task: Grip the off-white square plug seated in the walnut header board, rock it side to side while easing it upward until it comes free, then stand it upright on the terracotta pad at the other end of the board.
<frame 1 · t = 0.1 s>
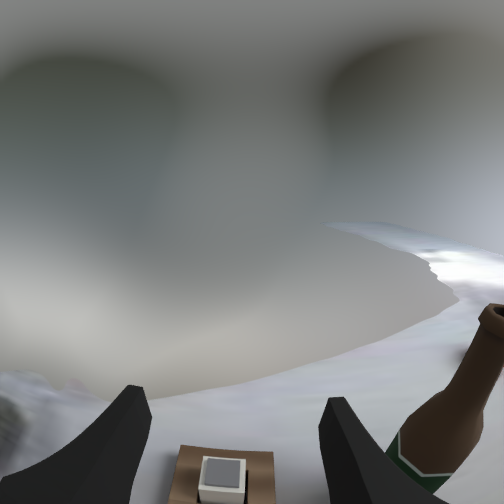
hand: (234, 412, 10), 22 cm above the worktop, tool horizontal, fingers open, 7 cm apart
plug: (223, 495, 22), resting in header
beer bottle: (389, 497, 21), on the worktop
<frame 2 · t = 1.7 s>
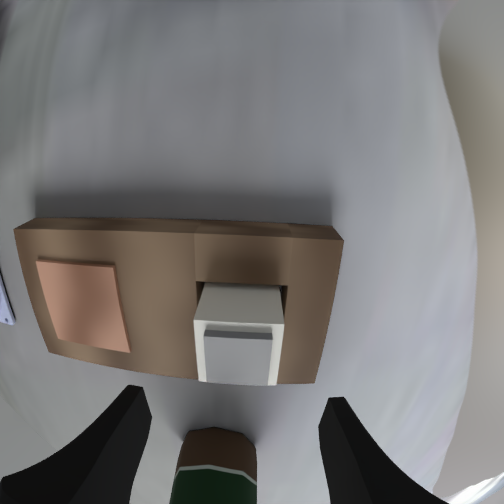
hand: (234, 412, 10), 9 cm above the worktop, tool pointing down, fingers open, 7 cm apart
plug: (242, 298, 19), resting in header
header: (165, 294, 18), on the worktop
beer bottle: (218, 443, 25), on the worktop
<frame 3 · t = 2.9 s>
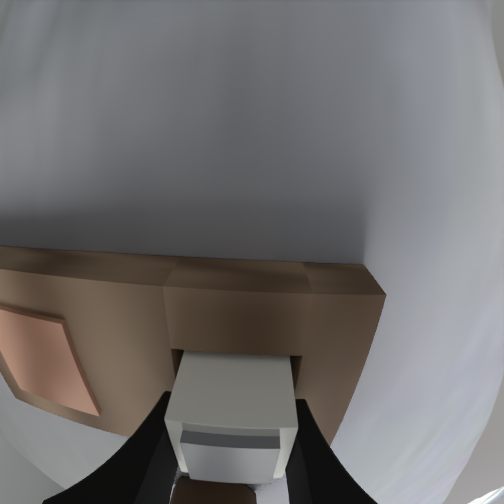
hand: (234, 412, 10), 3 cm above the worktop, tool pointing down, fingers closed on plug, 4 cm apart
plug: (238, 356, 13), resting in header, touching gripper
header: (138, 347, 13), on the worktop
beer bottle: (214, 487, 20), on the worktop
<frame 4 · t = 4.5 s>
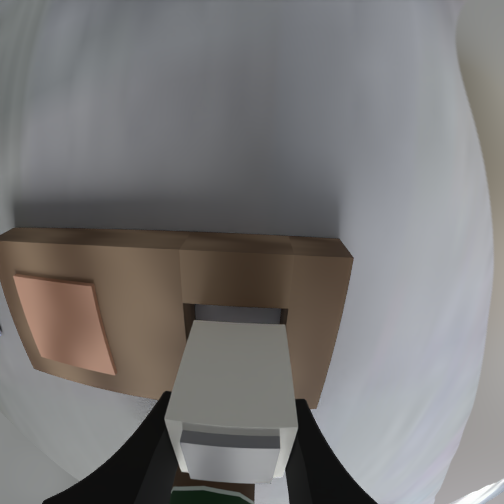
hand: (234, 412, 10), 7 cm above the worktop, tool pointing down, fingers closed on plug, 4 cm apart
plug: (238, 356, 13), point 3 cm above the worktop, touching gripper
header: (152, 312, 16), on the worktop
beer bottle: (214, 460, 23), on the worktop
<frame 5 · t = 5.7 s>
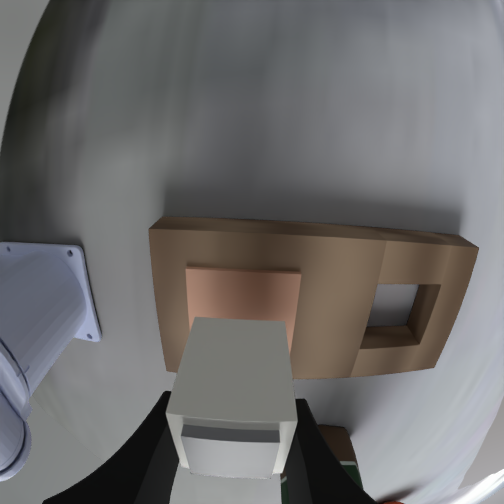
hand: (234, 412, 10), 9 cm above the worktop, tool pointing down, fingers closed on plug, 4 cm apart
plug: (238, 353, 14), point 6 cm above the worktop, touching gripper
tomato: (382, 502, 37), on the worktop
header: (320, 298, 19), on the worktop
beer bottle: (315, 441, 26), on the worktop
when the fingers open (7 cm above the worktop, at t = 6.5 s): plug stays where it is, resting on header.
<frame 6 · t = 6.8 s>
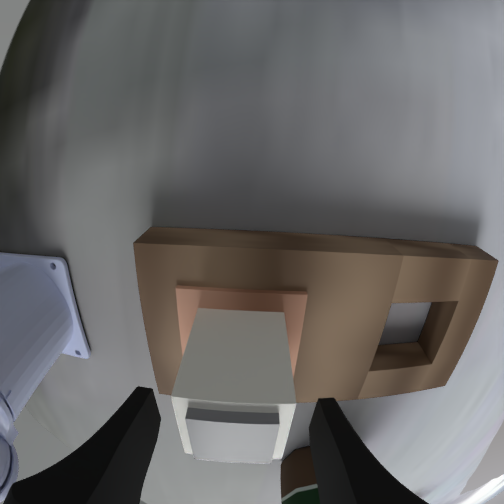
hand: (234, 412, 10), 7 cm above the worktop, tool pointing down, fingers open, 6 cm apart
plug: (239, 343, 14), point 3 cm above the worktop, touching header
header: (326, 316, 17), on the worktop
beer bottle: (318, 457, 24), on the worktop
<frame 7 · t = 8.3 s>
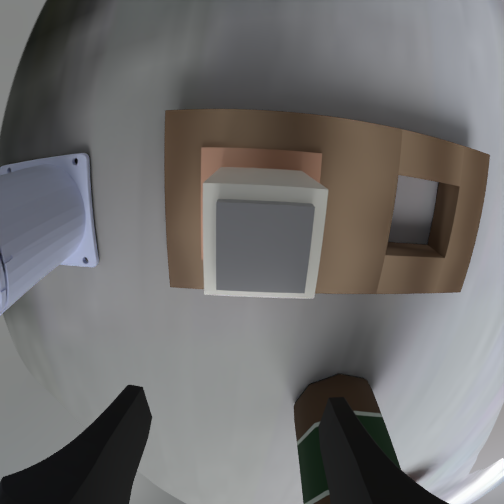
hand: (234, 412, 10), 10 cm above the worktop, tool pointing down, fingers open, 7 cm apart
plug: (259, 207, 15), point 3 cm above the worktop, touching header
header: (338, 202, 18), on the worktop
beer bottle: (332, 397, 25), on the worktop
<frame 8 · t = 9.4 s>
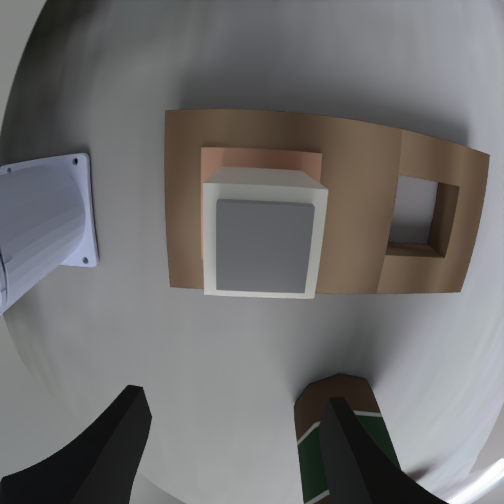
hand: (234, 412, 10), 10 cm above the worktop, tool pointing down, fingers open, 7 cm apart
plug: (259, 207, 15), point 3 cm above the worktop, touching header
header: (338, 202, 18), on the worktop
beer bottle: (332, 397, 25), on the worktop
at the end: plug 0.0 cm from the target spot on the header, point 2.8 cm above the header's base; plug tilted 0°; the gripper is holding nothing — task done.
